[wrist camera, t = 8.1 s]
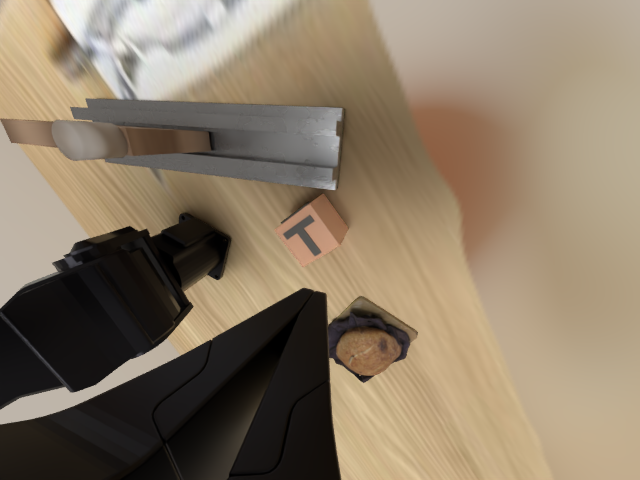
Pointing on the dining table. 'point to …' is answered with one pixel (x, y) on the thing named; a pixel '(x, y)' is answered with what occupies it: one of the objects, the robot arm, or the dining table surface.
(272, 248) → the dining table surface
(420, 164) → the dining table surface
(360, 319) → the bread roll
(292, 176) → the track
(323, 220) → the lettered cube
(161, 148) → the screen
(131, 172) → the dining table surface
